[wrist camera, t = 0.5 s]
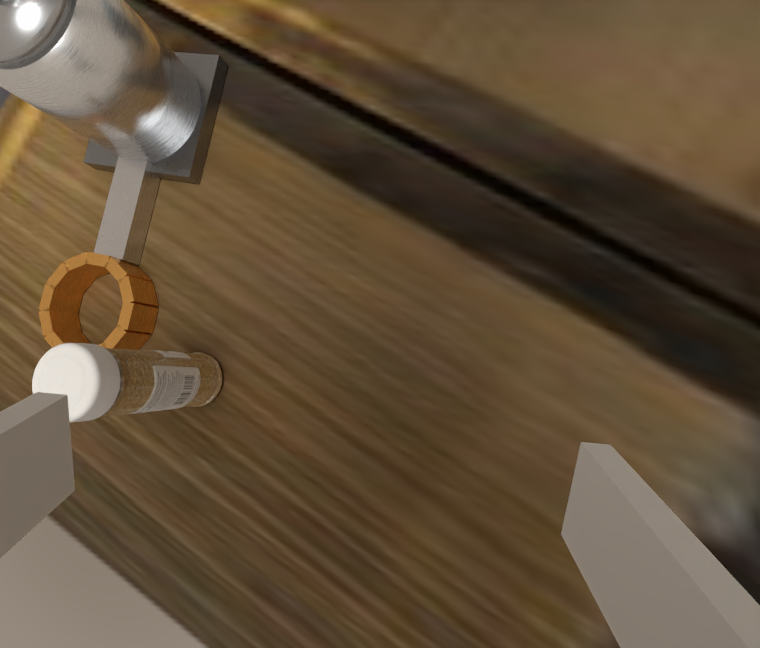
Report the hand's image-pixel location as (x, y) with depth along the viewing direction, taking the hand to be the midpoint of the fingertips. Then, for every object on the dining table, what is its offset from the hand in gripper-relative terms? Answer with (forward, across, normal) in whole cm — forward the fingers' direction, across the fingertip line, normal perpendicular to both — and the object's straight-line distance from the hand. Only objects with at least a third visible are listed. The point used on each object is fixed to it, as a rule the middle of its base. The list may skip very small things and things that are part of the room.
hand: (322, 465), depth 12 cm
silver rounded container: (+32, -21, +4) cm, 39 cm away
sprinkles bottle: (+26, -13, -9) cm, 31 cm away
